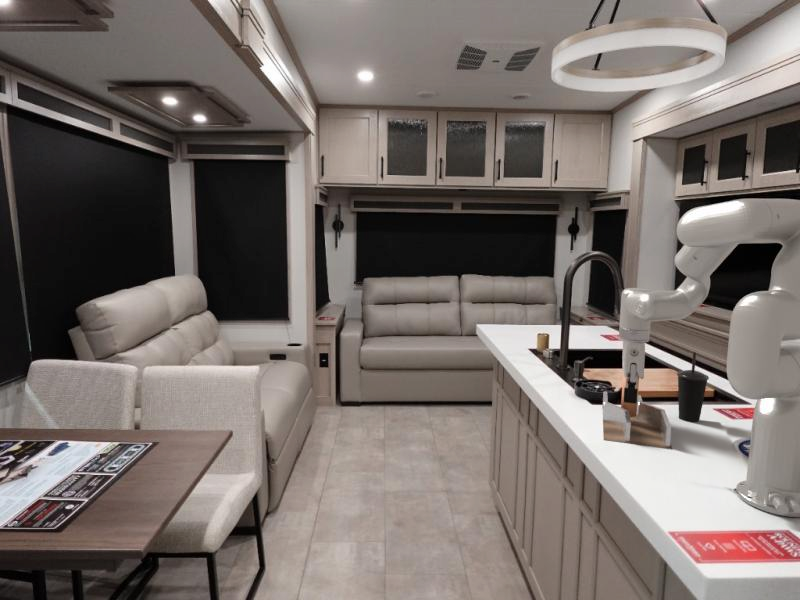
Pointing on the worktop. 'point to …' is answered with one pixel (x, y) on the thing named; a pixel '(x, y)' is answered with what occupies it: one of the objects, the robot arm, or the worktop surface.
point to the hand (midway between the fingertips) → (629, 399)
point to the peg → (629, 406)
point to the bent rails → (644, 414)
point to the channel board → (635, 433)
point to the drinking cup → (691, 393)
